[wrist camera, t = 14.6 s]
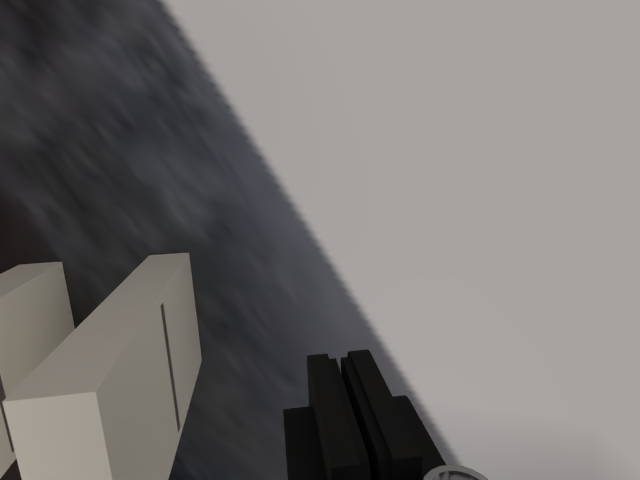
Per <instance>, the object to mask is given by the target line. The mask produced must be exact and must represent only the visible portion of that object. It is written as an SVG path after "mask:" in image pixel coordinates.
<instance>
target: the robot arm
mask: <svg viewBox="0 0 640 480" xmlns="http://www.w3.org/2000/svg"><path fill="white" fill-rule="evenodd" d="M307 369H308V390H309V406H308V407H300V408H291V409H283V414H284V429H285V444H286V458H287V472H288V480H488V479H487V478H486V477H484V476H483V475H481V474H480V473H478V472H476V471H474V470H472V469H469V468H466V467H463V466H457V465H446V464H445V462H444V461H443V459H442V457H441V455H440V453H439V452H438V450H437V448H436V446H435V445H434V443H433V441H432V439H431V437H430V436H429V434H428V432H427V430H426V429H425V427H424V425H423V423H422V421H421V420H420V418H419V416H418V414H417V413H416V411H415V409H414V407H413V405H412V404H411V402H410V400H409V399H408V397H407V396H405V395H404V396H395V397H392V395H391V393H390V391H389V389H388V387H387V385H386V383H385V381H384V379H383V377H382V375H381V373H380V371H379V369H378V367H377V365H376V363H375V361H374V359H373V357H372V355H371V353H370V351H369V350H359V351H349V352H348V357H344V358H341V373H340V370H339V367H338V364H337V361H336V358H334V359H329V357H328V354H319V355H309V356H307Z"/></svg>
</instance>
